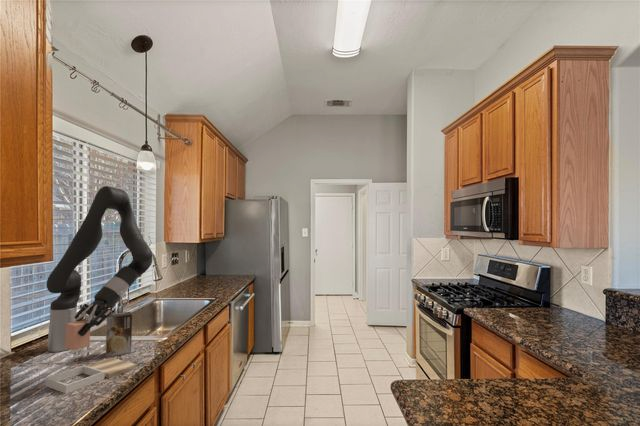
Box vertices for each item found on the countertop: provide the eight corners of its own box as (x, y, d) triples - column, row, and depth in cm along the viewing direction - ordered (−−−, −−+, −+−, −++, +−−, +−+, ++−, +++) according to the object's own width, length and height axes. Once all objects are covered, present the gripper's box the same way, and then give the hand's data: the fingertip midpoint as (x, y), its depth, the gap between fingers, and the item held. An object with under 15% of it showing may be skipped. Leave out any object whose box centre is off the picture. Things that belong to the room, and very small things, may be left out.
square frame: (44, 385, 112) (45, 377, 112) (83, 372, 122) (84, 365, 122) (65, 393, 106) (66, 385, 106) (104, 379, 117) (104, 371, 117)
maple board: (84, 370, 124) (85, 366, 124) (112, 361, 133) (112, 357, 133) (109, 378, 118) (109, 374, 118) (135, 368, 126) (136, 364, 127)
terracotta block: (64, 347, 114) (66, 323, 114) (80, 343, 118) (82, 320, 119) (73, 350, 112) (74, 325, 112) (89, 345, 116) (90, 322, 117)
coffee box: (130, 348, 147) (131, 311, 148) (131, 353, 142) (133, 314, 143) (104, 352, 142) (106, 313, 143) (105, 357, 137) (107, 317, 138)
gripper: (93, 283, 127) (54, 324, 115) (118, 287, 121) (79, 330, 109) (107, 296, 131) (70, 336, 120) (131, 300, 125) (95, 342, 114)
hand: (75, 333), depth 115 cm, fingers closed on terracotta block, 5 cm apart
